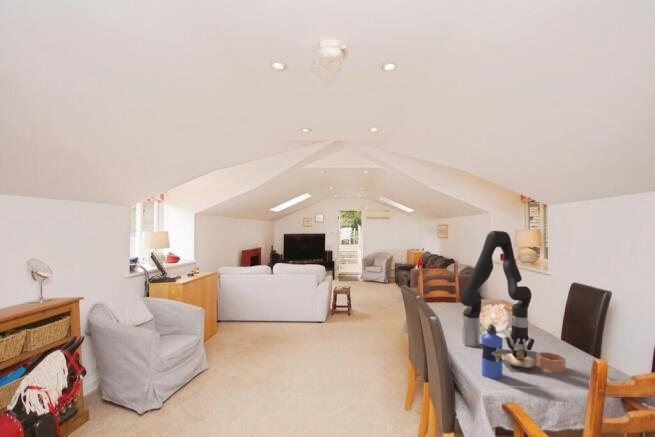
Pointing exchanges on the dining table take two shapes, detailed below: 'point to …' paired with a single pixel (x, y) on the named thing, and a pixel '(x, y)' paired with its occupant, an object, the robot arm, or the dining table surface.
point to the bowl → (550, 362)
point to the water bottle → (491, 354)
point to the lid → (519, 359)
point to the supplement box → (512, 340)
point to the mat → (521, 368)
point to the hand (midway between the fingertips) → (519, 357)
